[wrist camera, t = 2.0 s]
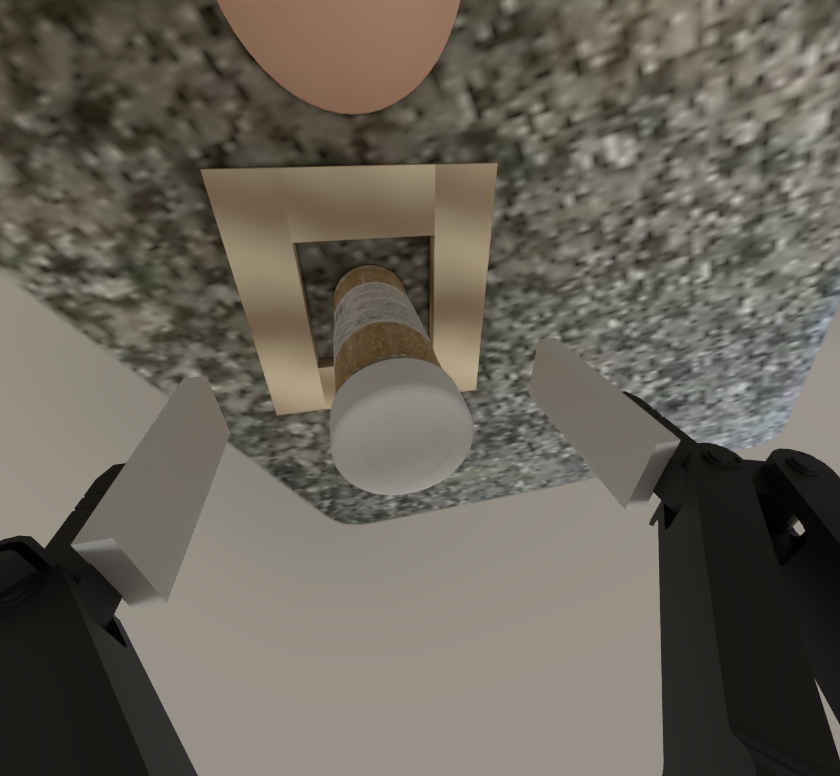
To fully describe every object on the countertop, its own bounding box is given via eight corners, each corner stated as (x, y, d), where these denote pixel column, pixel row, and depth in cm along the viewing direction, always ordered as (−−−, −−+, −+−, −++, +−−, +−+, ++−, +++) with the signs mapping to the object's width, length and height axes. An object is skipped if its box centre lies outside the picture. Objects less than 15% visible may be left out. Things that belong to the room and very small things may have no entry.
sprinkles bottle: (384, 344, 23) (428, 512, 13) (320, 314, 21) (304, 484, 11) (420, 284, 22) (506, 420, 11) (352, 246, 20) (374, 365, 9)
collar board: (208, 168, 16) (200, 169, 16) (489, 162, 19) (497, 163, 18) (279, 404, 24) (276, 415, 23) (470, 381, 27) (475, 389, 26)
